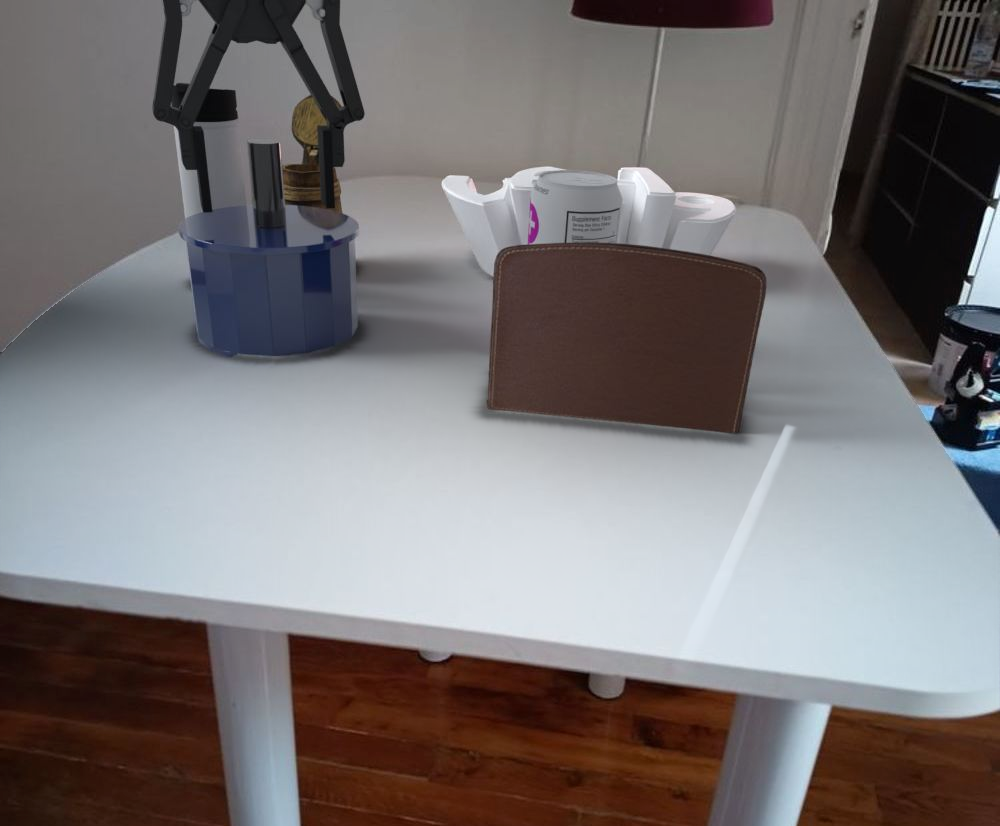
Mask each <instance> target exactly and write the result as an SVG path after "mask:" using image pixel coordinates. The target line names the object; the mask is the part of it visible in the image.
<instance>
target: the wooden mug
mask: <svg viewBox="0 0 1000 826" xmlns="http://www.w3.org/2000/svg"><path fill="white" fill-rule="evenodd" d="M331 97H332V99H333V100H334V102H335V104H336V106H337V108H340V107H343V106H342V105H341V103H340V102H339V101H338V100H337V99H336V98H335V97H334V96H332V95H331ZM291 115H292V117H291V133H292V137H293V138H294V139H295V141H296V142H297V143H298V144H299V145H300V146H301V147H302V149H303V151H302V152H303V153H302V162H301V163H287V164H282V168H283V182H284V196H285V205H297V206H308V207H316V208H322V209H327V210H332V211H336V212H339V213H343V207H342V199H341V195H342V188H341V183H340V179H339V178H338V175H337V169H336V167H333V173H334V196H335V208H326V207H325V206H324V205H323V203H322V202H321V191H320V172H319V152H318V133H317V126H323V125H326V120H325V118H324V116H323V115H322V113H321V111H320V110H319V108H318V106H317V104H316V103H315V101H314V99H313V97H312V96H311V94H309V95H308V96H306V97H304V98H302V100H300V101H299V102H298V103H297V104H296V106H295V107H294V109H293V112H292V114H291Z"/></svg>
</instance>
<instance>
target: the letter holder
mask: <svg viewBox="0 0 1000 826" xmlns="http://www.w3.org/2000/svg"><path fill="white" fill-rule="evenodd" d="M767 282H768V281H767V277H766V274H765V272H764V271H763V270H762V269H761V268H759V267H758V266H756V265H752V264H749V263H745V262H741V261H737V260H734V259H733V260H732V259H730V258H729V259H728V258H725V257H720V256H714V255H711V256H710V255H705V254H699V253H693V252H687V251H680V250H673V249H666V248H658V247H651V246H642V245H632V244H620V243H591V242H586V243H548V244H527V245H516V246H510V247H506V248H504V249H502V250H501V251H500V252H499V253H498V254H497V256H496V259H495V262H494V275H493V278H492V304H491V305H492V307H491V321H490V323H491V325H490V341H489V361H488V383H487V384H488V385H487V386H488V387H487V400H486V407H487V409H488V410H493V411H503V412H515V413H523V414H524V413H525V414H533V415H545V416H555V417H564V418H574V419H575V418H576V419H586V420H596V421H603V422H604V421H605V422H613V423H614V422H615V423H616V422H617V423H626V424H636V425H645V426H646V425H647V426H655V427H665V428H666V427H667V428H674V429H675V428H676V429H686V430H695V431H704V432H705V431H707V432H715V433H725V434H733V435H737V434H739V432H740V429H741V423H742V418H743V413H744V408H745V402H746V397H747V393H748V386H749V382H750V375H751V370H752V367H753V360H754V353H755V349H756V348H755V347H756V344H757V339H758V333H759V329H760V325H761V319H762V315H763V310H764V305H765V300H766V295H767V289H768V288H767V286H768V285H767V284H768V283H767Z"/></svg>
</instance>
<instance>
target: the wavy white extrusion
mask: <svg viewBox="0 0 1000 826" xmlns="http://www.w3.org/2000/svg"><path fill="white" fill-rule="evenodd" d="M557 170H565V169H564V168H560V167H555V166H539V167H538V166H537V167H531V168H526V169H522V170H520V171H517V172H516V173H515V174H514V175H512V177H505V178H504V179H502V184H503V185H502V187H501V188H500V189H498V190H496V191H494V192H490V193H487V194H481V193H479V192H478V190H477V188H476V186H475V183H474V181H473V178H470V176H469V175H450V174H449V175H447V176H445V178H443V179H442V181H441V188H442V190H443V192H444V194H445V196H446V198H447V200H448V202H449V205H450V207H451V209H452V211H453V213H454V215H455V217H456V220H457V222H458V223H459V225H460V228H461V230H462V232H463V234H464V236H465V238H466V240H467V243H468V245H469V247H470V249H471V251H472V254H473V255H474V258H475V259H476V262H477V264H478V265H479V267H480V268H481V270H482V271H484V273H486V274H488V275H489V276H490V277H493V275H494V262H495V259H496V256H497V254H498V253H499V252H500V251H501V250H502V249H504V248H506V247H510V246H516V245H527V244H528V228H529V212H530V195H531V191H532V189H533V187H534V186H535V184H536V182H537V180H538V178H539V174H541V173H543V172H548V171H557ZM616 179H617V185H618V188H619V191H620V193H621V196H622V199H623V200H622V209H621V218H620V227H619V237H618V243H620V244H632V245H642V246H651V247H658V248H666V249H673V250H680V251H687V252H693V253H699V254H705V255H710V256H712V254H713V252H714V250H715V249H716V247H717V245H719V242H720V240H721V239H722V237H723V235H724V234H725V232H726V230H727V228H728V227H729V226H730V223H731V222H732V219H733V218H734V216H735V215H736V213H737V207H736V205H735V204H734V203H733V201H731V200H730V199H727V198H726V197H721V196H718V195H714V194H708V193H701V192H700V193H699V192H685V191H684V192H683V191H681V192H680V191H679V192H678V191H674V190H673V189H672V188H671V186H670V185H669V184H668V183H667V182H665V180H663V178H661V177H660V176H659V175H658V174H656V173H655V172H654V171H653V170H652V169H650V168H648V167H637V166H636V167H631V166H629V167H621V168H620V169H618V171H617V178H616Z"/></svg>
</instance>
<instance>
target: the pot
mask: <svg viewBox="0 0 1000 826" xmlns="http://www.w3.org/2000/svg"><path fill="white" fill-rule="evenodd" d="M184 242H185V250H186V255H187V256H186V257H187V264H188V272H189V279H190V288H191V296H192V304H193V312H194V317H195V318H194V320H195V328H196V332H197V337H198V338H197V339H198V341H199V343H200V344H201V345H202V346H203V347H204V348H205V349H207V350H209V351H211V352H213V353H215V354H217V355H221V356H224V357H228V358H232V357H235V356H237V355H248V356H266V357H278V356H290V355H302V354H309V353H313V352H318V351H321V350H325V349H331V348H334V347H336V346H338V345H340V344H342V343H343V342H346V341H347V340H349V339H351V338H353V336H354V335H355V333H356V331H357V329H358V327H359V324H358V323H359V322H358V321H359V320H358V296H357V295H358V292H357V290H358V289H357V263H356V261H357V260H356V259H357V258H356V238H355V239H354V240H352V241H351V242H348V243H346V244H344V245H341V246H338V247H334V248H331V249H326V250H321V251H315V252H308V253H299V254H286V255H247V254H234V253H225V252H219V251H213V250H208V249H204V248H200V247H197V246H194V245H192V244H189V243H188V242H186V241H184Z"/></svg>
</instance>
